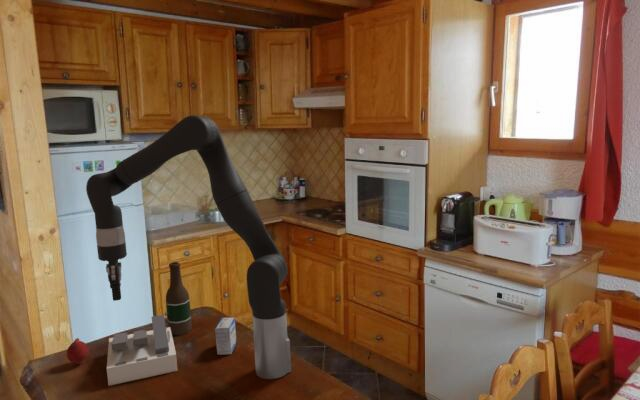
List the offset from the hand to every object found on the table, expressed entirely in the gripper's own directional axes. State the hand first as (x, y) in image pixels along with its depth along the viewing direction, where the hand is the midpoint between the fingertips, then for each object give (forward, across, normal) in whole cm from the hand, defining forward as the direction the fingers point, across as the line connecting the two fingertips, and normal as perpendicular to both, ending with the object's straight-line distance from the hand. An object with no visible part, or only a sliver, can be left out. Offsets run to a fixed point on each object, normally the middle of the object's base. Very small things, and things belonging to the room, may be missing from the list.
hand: (117, 299), depth 136 cm
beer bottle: (+19, +14, -18) cm, 30 cm away
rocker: (+11, -3, -5) cm, 13 cm away
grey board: (+11, -4, 0) cm, 12 cm away
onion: (+20, +3, +12) cm, 23 cm away
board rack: (+19, -3, -5) cm, 20 cm away
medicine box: (+19, -6, -30) cm, 36 cm away
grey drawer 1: (+11, -3, -11) cm, 16 cm away
